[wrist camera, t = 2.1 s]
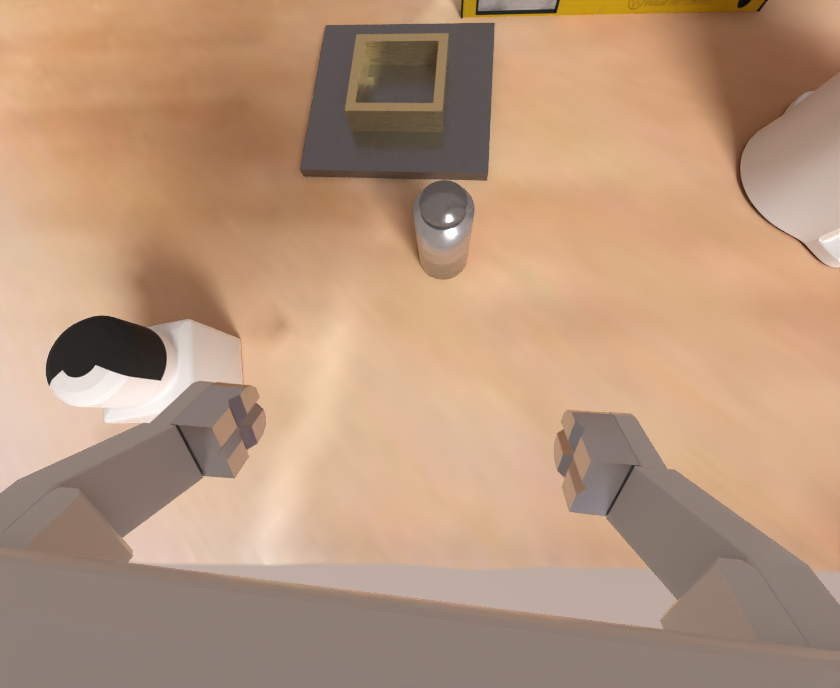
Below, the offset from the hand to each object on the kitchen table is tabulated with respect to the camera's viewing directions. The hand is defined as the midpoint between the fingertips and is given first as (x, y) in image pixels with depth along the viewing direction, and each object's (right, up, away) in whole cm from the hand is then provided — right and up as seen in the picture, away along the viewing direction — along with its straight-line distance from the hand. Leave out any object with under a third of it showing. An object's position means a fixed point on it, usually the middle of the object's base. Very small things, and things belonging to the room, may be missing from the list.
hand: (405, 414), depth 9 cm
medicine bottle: (-20, -2, +24) cm, 31 cm away
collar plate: (-2, +30, +30) cm, 42 cm away
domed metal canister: (+3, +11, +25) cm, 27 cm away
